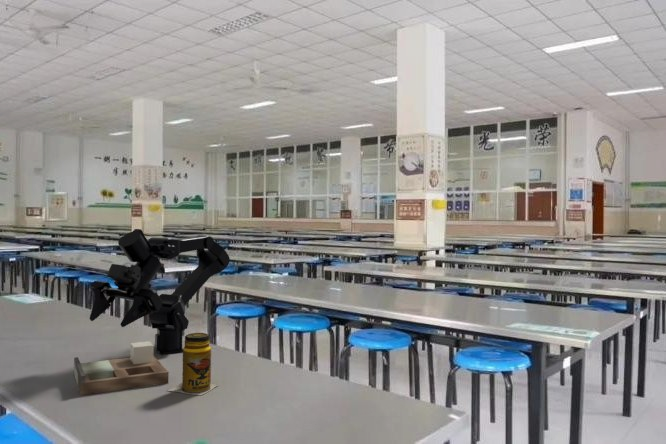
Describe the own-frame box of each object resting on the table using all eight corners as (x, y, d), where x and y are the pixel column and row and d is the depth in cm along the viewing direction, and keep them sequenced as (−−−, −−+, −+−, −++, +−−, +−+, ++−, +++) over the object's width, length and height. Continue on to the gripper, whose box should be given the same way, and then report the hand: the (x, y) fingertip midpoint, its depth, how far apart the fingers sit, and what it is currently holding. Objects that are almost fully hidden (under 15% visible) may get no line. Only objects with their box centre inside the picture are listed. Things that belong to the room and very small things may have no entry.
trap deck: (152, 365, 137) (153, 349, 137) (168, 383, 123) (168, 365, 123) (74, 374, 128) (74, 357, 127) (81, 395, 114) (81, 376, 114)
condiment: (201, 396, 115) (202, 339, 115) (167, 391, 117) (167, 336, 117) (218, 385, 122) (219, 332, 122) (185, 381, 124) (186, 329, 124)
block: (149, 357, 134) (149, 341, 134) (153, 361, 131) (153, 345, 130) (130, 359, 132) (130, 343, 132) (133, 364, 128) (134, 347, 128)
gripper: (99, 248, 138) (59, 295, 127) (160, 257, 131) (123, 307, 121) (117, 278, 145) (81, 324, 134) (176, 287, 139) (143, 337, 128)
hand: (105, 322), depth 129 cm, fingers open, 9 cm apart
